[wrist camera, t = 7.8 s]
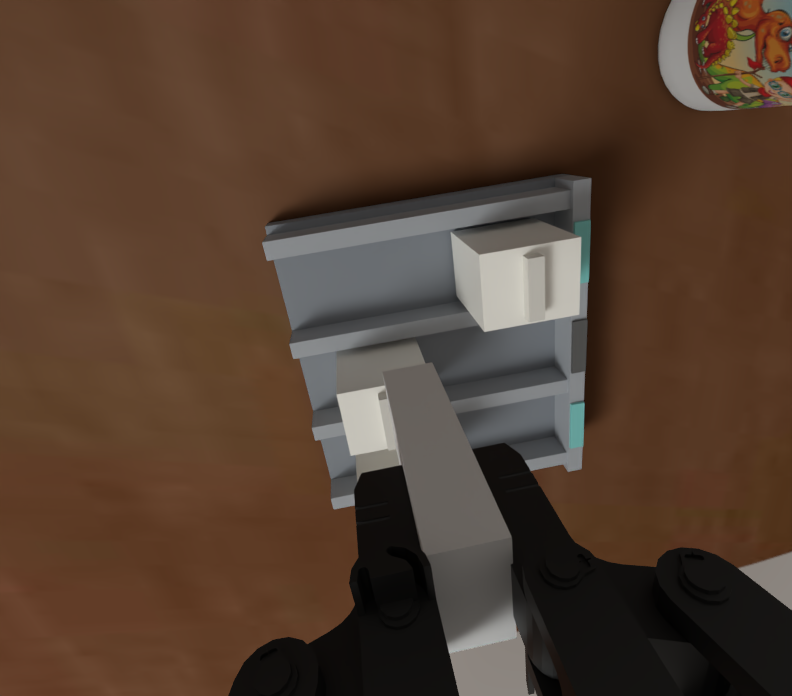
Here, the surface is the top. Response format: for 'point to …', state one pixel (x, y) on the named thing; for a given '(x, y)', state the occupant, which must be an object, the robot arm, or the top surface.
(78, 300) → the top surface
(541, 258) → the white rectangular block
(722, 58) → the milk bottle
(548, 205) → the switch board
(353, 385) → the white ridged block
